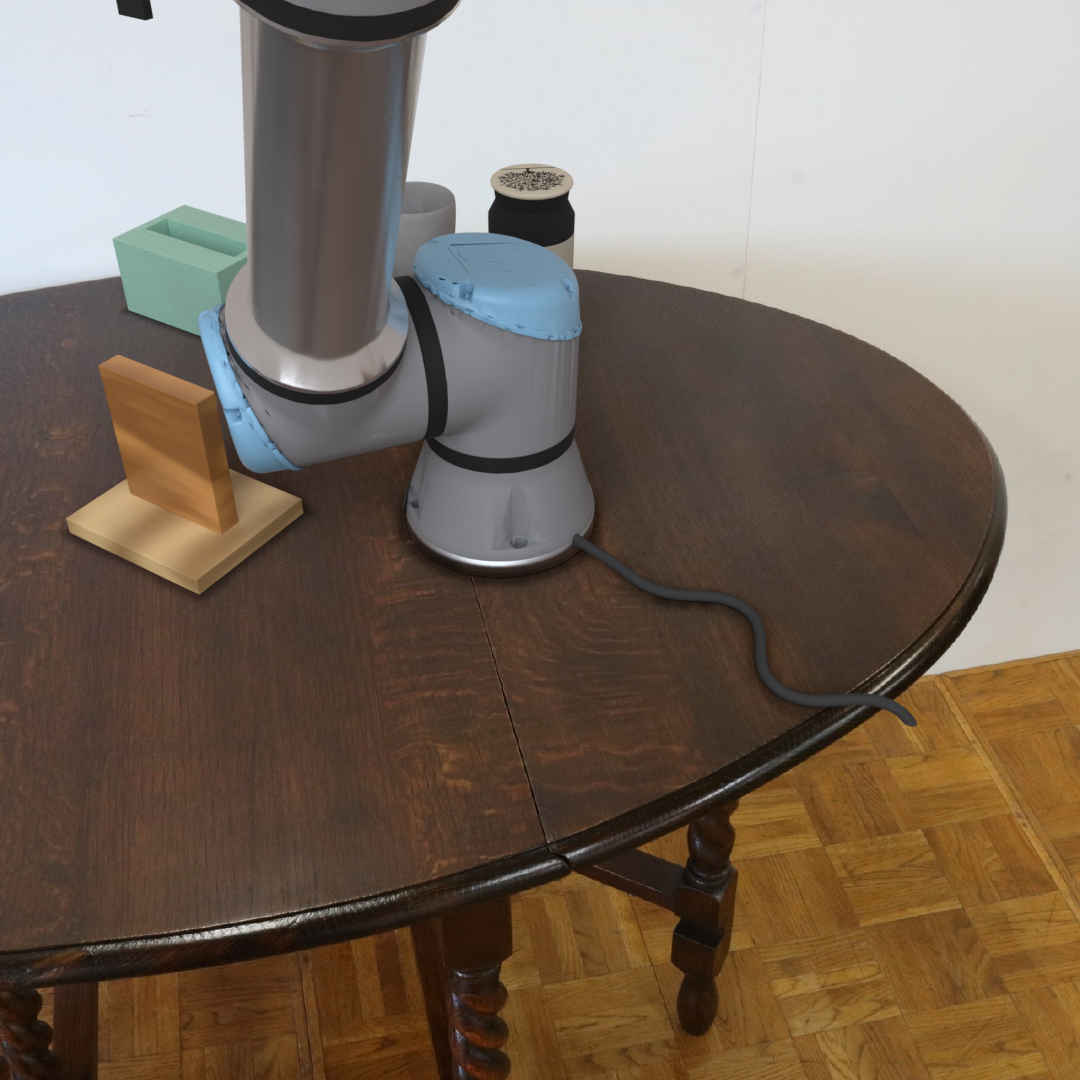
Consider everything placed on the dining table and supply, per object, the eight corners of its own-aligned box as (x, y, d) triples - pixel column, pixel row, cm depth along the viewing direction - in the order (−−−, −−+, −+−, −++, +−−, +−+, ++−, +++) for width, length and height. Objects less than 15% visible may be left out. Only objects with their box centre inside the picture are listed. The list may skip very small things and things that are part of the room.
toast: (148, 481, 98) (118, 353, 90) (239, 522, 94) (215, 391, 86) (129, 493, 96) (97, 365, 89) (221, 535, 92) (195, 404, 85)
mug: (464, 266, 133) (461, 183, 127) (450, 303, 126) (447, 217, 120) (359, 259, 134) (351, 176, 128) (339, 295, 127) (331, 210, 121)
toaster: (186, 270, 131) (173, 201, 126) (294, 306, 125) (285, 235, 120) (117, 306, 124) (100, 234, 119) (228, 346, 118) (216, 272, 113)
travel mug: (570, 375, 115) (577, 197, 103) (488, 374, 115) (485, 195, 103) (569, 335, 121) (575, 162, 110) (491, 334, 121) (489, 161, 110)
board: (303, 513, 97) (301, 498, 96) (199, 595, 89) (196, 580, 88) (178, 460, 103) (175, 445, 102) (69, 533, 95) (65, 518, 94)
